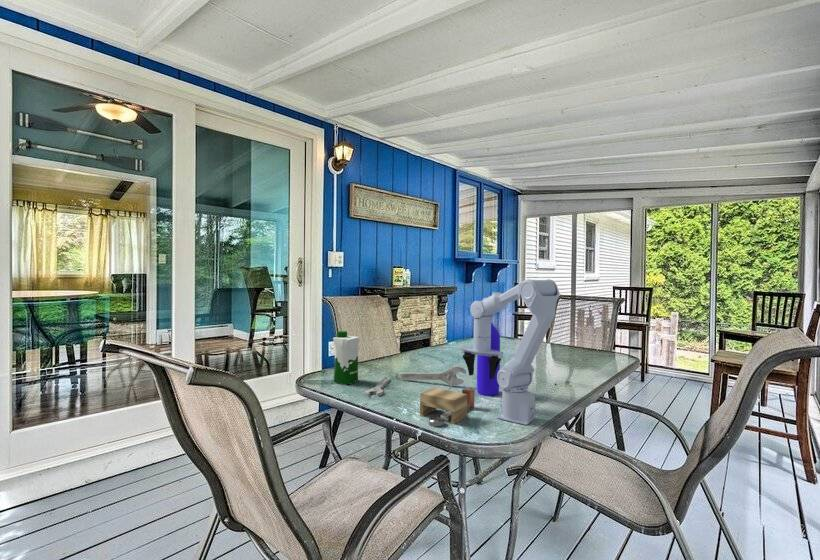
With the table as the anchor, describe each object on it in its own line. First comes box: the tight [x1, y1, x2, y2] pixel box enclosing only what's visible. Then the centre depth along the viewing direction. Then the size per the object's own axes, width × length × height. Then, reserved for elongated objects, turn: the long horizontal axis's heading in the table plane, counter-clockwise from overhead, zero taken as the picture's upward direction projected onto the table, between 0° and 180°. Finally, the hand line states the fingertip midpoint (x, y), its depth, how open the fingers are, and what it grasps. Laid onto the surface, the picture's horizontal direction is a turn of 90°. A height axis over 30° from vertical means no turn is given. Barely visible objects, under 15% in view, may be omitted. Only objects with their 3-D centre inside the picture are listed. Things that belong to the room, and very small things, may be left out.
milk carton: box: [332, 330, 361, 385], centre depth 169 cm, size 9×9×20 cm
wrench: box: [394, 365, 467, 388], centre depth 168 cm, size 8×2×30 cm
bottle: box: [476, 322, 501, 397], centre depth 156 cm, size 8×8×30 cm
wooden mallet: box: [439, 387, 476, 422], centre depth 133 cm, size 3×17×6 cm, turn 145°
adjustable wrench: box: [364, 376, 391, 398], centre depth 161 cm, size 25×6×2 cm, turn 165°
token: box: [428, 416, 445, 428], centre depth 123 cm, size 4×4×2 cm
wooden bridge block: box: [419, 387, 468, 425], centre depth 130 cm, size 12×8×7 cm, turn 55°
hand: (481, 376), depth 142 cm, fingers open, 7 cm apart
